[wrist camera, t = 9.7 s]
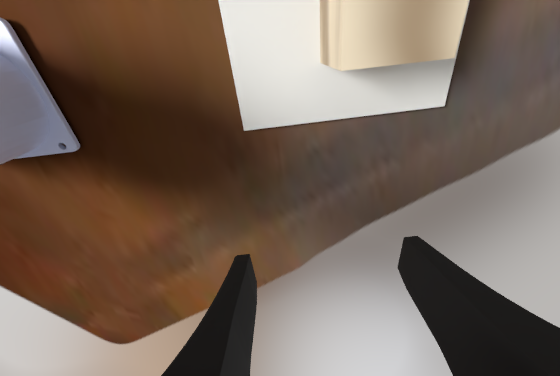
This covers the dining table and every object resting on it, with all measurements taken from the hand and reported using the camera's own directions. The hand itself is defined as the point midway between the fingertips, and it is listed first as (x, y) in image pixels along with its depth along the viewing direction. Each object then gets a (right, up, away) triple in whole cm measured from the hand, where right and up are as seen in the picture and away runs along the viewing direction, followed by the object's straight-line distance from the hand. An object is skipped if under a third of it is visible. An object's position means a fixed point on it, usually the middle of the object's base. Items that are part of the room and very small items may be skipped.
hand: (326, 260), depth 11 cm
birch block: (+3, +14, +2) cm, 14 cm away
